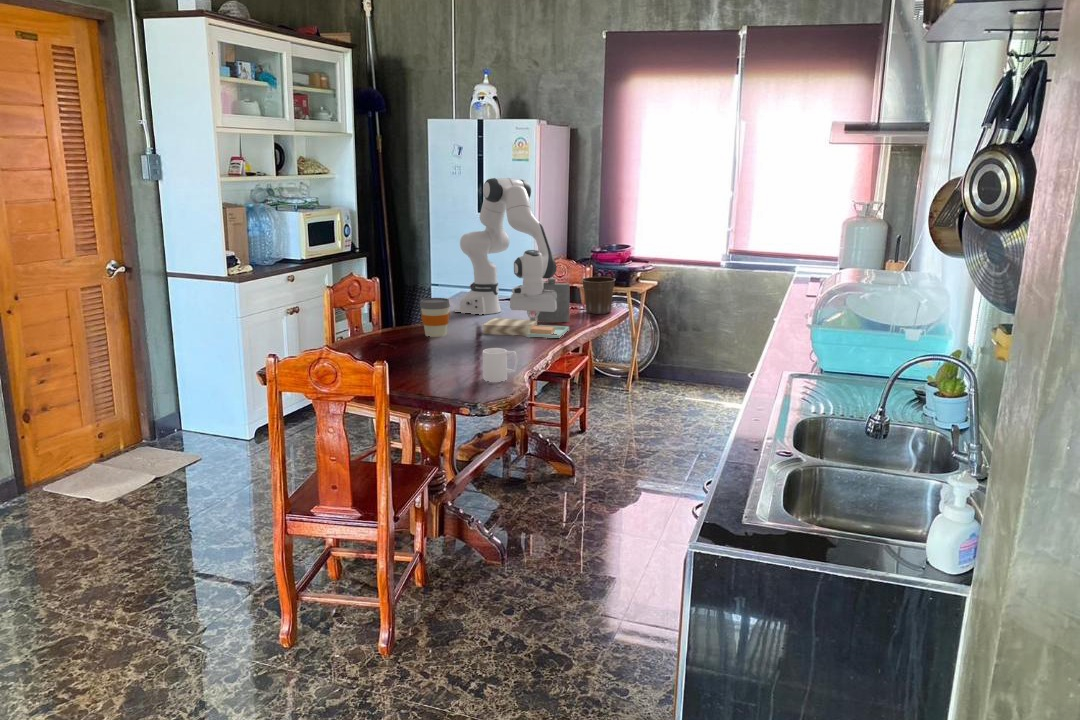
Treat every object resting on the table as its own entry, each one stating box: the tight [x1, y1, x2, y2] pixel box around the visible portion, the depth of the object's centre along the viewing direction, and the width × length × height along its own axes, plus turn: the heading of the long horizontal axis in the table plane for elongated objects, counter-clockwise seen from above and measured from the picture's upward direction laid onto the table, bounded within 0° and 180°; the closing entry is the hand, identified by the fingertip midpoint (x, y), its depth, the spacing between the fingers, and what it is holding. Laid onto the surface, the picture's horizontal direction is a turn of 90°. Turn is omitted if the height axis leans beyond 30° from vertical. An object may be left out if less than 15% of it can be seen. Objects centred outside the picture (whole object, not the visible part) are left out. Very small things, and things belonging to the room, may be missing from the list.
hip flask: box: [534, 277, 571, 323], centre depth 372 cm, size 16×4×20 cm, turn 81°
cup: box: [482, 347, 519, 383], centre depth 280 cm, size 8×12×10 cm
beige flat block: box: [482, 317, 538, 337], centre depth 354 cm, size 20×14×4 cm
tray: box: [526, 324, 570, 339], centre depth 350 cm, size 14×18×2 cm
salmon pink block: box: [531, 325, 555, 335], centre depth 350 cm, size 9×6×2 cm, turn 75°
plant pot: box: [581, 276, 616, 315], centre depth 393 cm, size 16×16×16 cm
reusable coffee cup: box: [419, 297, 451, 338], centre depth 347 cm, size 13×13×15 cm
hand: (533, 321), depth 350 cm, fingers closed
